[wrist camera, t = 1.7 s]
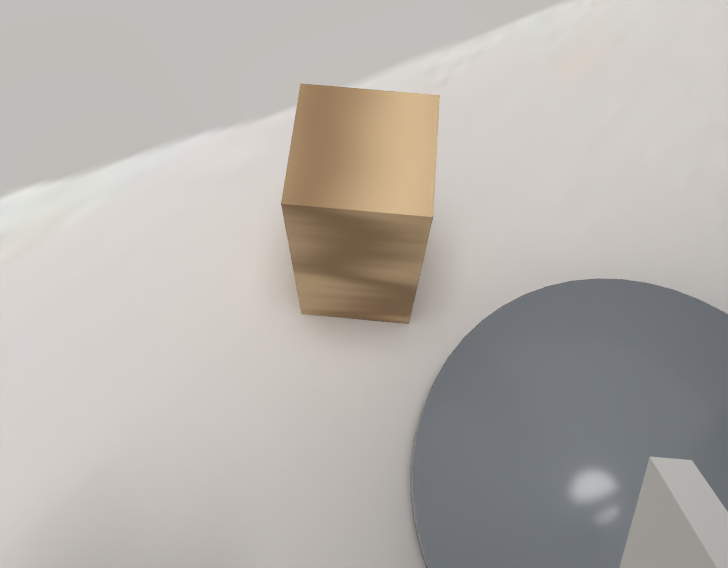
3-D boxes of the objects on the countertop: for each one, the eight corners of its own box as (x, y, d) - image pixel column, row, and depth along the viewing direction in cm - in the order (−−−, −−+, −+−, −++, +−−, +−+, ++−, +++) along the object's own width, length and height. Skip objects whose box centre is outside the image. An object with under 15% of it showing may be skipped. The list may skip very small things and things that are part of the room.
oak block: (414, 229, 33) (439, 95, 24) (408, 323, 31) (433, 217, 22) (314, 220, 33) (300, 83, 24) (301, 313, 31) (281, 203, 22)
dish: (801, 309, 32) (821, 297, 30) (887, 765, 24) (919, 777, 23) (422, 275, 32) (425, 261, 31) (395, 715, 25) (398, 724, 23)
